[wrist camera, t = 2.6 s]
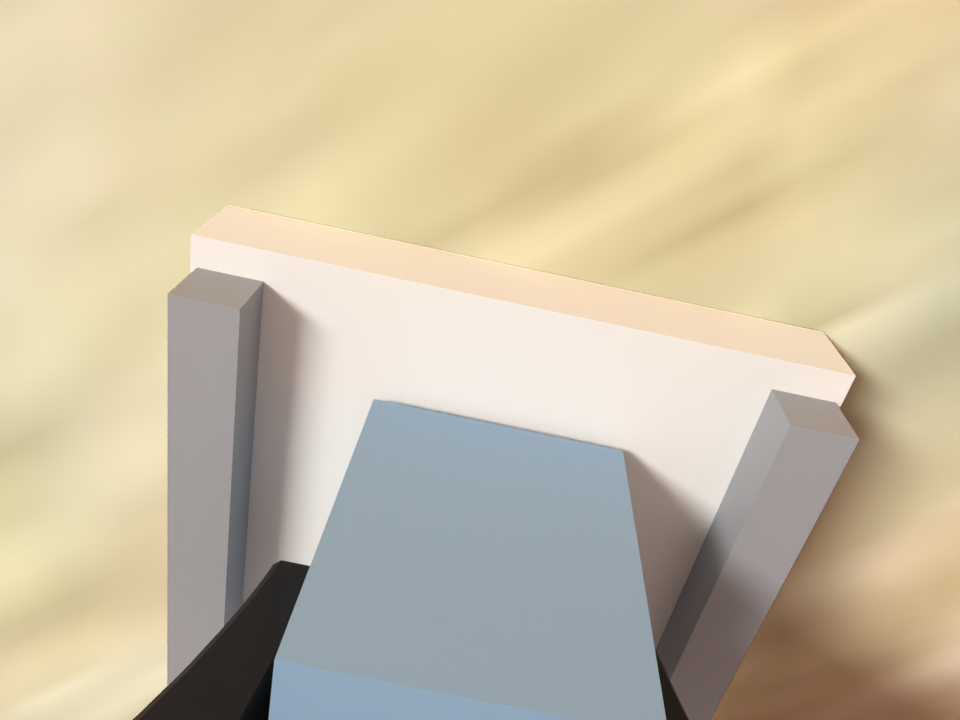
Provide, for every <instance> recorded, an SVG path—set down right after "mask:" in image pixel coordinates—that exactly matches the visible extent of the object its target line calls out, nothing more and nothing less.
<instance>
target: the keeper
mask: <svg viewBox="0 0 960 720" xmlns="http://www.w3.org/2000/svg"><path fill="white" fill-rule="evenodd" d="M268 720H666V715H665V709H664V703H663V696H662V690H661V684H660V678H659V672H658V665H657V659H656V653H655V647H654V641H653V634H652V628H651V622H650V616H649V610H648V603H647V597H646V591H645V585H644V579H643V572H642V566H641V560H640V554H639V548H638V541H637V535H636V529H635V523H634V517H633V510H632V504H631V498H630V492H629V486H628V479H627V473H626V467H625V461H624V455H623V451H622V450H617V449H612V448H607V447H602V446H598V445H593V444H588V443H583V442H578V441H574V440H569V439H564V438H559V437H554V436H550V435H545V434H540V433H535V432H530V431H525V430H521V429H516V428H511V427H506V426H501V425H497V424H492V423H487V422H482V421H477V420H473V419H468V418H463V417H458V416H453V415H449V414H444V413H439V412H434V411H429V410H424V409H420V408H415V407H410V406H405V405H400V404H396V403H391V402H386V401H381V400H376V399H374V400H373V402H372V405H371V407H370V410H369V413H368V415H367V418H366V421H365V423H364V426H363V428H362V431H361V434H360V436H359V439H358V442H357V444H356V447H355V449H354V452H353V455H352V457H351V460H350V463H349V465H348V468H347V470H346V473H345V476H344V478H343V481H342V483H341V486H340V489H339V491H338V494H337V497H336V499H335V502H334V504H333V507H332V510H331V512H330V515H329V518H328V520H327V523H326V525H325V528H324V531H323V533H322V536H321V539H320V541H319V544H318V546H317V549H316V552H315V554H314V557H313V560H312V562H311V565H310V567H309V570H308V573H307V575H306V578H305V581H304V583H303V586H302V588H301V591H300V594H299V596H298V599H297V601H296V604H295V607H294V609H293V612H292V615H291V617H290V620H289V622H288V625H287V628H286V630H285V633H284V636H283V638H282V641H281V643H280V646H279V649H278V651H277V654H276V657H275V659H274V668H273V678H272V688H271V698H270V708H269V718H268Z"/></svg>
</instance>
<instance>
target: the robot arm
mask: <svg viewBox="0 0 960 720" xmlns="http://www.w3.org/2000/svg"><path fill="white" fill-rule="evenodd" d="M309 567H310V566H308V565H303V564H298V563H293V562H288V561H283V560H281V561H279V562H277V563H275V564H273V565H272V567H271V568H270V570H269V571H268V572H267V574H266V575H265V577H264V578H263V579H262V581H261V582H260V583H259V585H258V586H257V587H256V589H255V590H254V591H253V592H252V594H251V595H250V596H249V597H248V599H247V600H246V601H245V602H244V603H243V605H242V606H241V607H240V608H239V609H238V611H237V612H236V613H235V614H234V615H233V616H232V618H231V619H230V620H229V621H228V622H227V623H226V625H225V626H224V627H223V628H222V629H221V630H220V631H219V633H218V634H217V635H216V636H215V637H214V638H213V639H212V640H211V641H210V642H209V643H208V644H207V646H206V647H205V648H204V649H203V650H202V651H201V652H200V653H199V654H198V655H197V656H196V657H195V659H194V660H193V661H192V662H191V663H190V664H189V665H188V666H187V667H186V668H185V669H184V670H183V671H182V672H181V673H180V674H179V675H178V676H177V677H176V678H175V679H174V680H173V681H172V682H171V683H170V684H169V685H168V686H167V687H166V688H165V689H164V690H163V691H162V692H161V693H160V694H159V695H158V696H157V697H156V698H155V699H154V700H153V701H152V702H151V703H150V704H149V705H148V706H147V707H146V708H145V709H144V710H143V711H141V712H140V713H139V714H138V715H137V716H136V717H135V718H134V719H133V720H268V718H269V708H270V698H271V688H272V678H273V668H274V659H275V657H276V654H277V651H278V649H279V646H280V643H281V641H282V638H283V636H284V633H285V630H286V628H287V625H288V622H289V620H290V617H291V615H292V612H293V609H294V607H295V604H296V601H297V599H298V596H299V594H300V591H301V588H302V586H303V583H304V581H305V578H306V575H307V573H308V570H309ZM654 647H655V646H654ZM655 653H656V659H657V665H658V672H659V678H660V684H661V690H662V696H663V703H664V709H665V715H666V720H689V719H688V717H687V715H686V713H685V710H684V708H683V706H682V704H681V702H680V700H679V698H678V696H677V694H676V692H675V690H674V688H673V685H672V683H671V681H670V679H669V677H668V675H667V673H666V670H665V668H664V666H663V664H662V662H661V659H660V657H659V655H658V653H657V651H656V648H655Z"/></svg>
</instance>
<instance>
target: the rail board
mask: <svg viewBox="0 0 960 720" xmlns="http://www.w3.org/2000/svg"><path fill="white" fill-rule="evenodd" d="M855 377H856V375H855V374H854V373H853V371H852V370H851V368H850V367H849V366H848V364H847V363H846V362H845V360H844V359H843V358H842V356H841V355H840V354H839V352H838V351H837V350H836V348H835V347H834V346H833V344H832V343H831V342H830V340H829V339H828V338H827V336H826V335H825V334H824V332H821V331H817V330H812V329H807V328H803V327H798V326H793V325H789V324H784V323H779V322H775V321H770V320H765V319H761V318H756V317H751V316H747V315H742V314H737V313H733V312H728V311H723V310H719V309H714V308H709V307H705V306H700V305H695V304H691V303H686V302H681V301H677V300H672V299H667V298H663V297H658V296H653V295H649V294H644V293H639V292H635V291H630V290H625V289H621V288H616V287H611V286H607V285H602V284H597V283H593V282H588V281H583V280H579V279H574V278H569V277H565V276H560V275H555V274H551V273H546V272H541V271H537V270H532V269H527V268H523V267H518V266H513V265H508V264H504V263H499V262H494V261H490V260H485V259H480V258H476V257H471V256H466V255H462V254H457V253H452V252H448V251H443V250H438V249H434V248H429V247H424V246H420V245H415V244H410V243H406V242H401V241H396V240H392V239H387V238H382V237H378V236H373V235H368V234H364V233H359V232H354V231H350V230H345V229H340V228H336V227H331V226H326V225H322V224H317V223H312V222H308V221H303V220H298V219H294V218H289V217H284V216H280V215H275V214H270V213H266V212H261V211H256V210H252V209H247V208H242V207H238V206H233V205H227V206H226V207H225V208H224V209H222V210H221V211H220V212H219V213H217V214H216V215H215V216H213V217H212V218H211V219H210V220H208V221H207V222H206V223H205V224H203V225H202V226H201V227H200V228H198V229H197V230H196V231H195V232H193V233H192V234H191V260H190V274H189V275H188V276H187V277H186V278H185V279H184V280H183V281H182V282H180V283H179V284H178V285H177V286H176V287H175V288H174V289H173V290H172V291H170V292H169V293H168V685H169V684H170V683H171V682H172V681H173V680H174V679H175V678H176V677H177V676H178V675H179V674H180V673H181V672H182V671H183V670H184V669H185V668H186V667H187V666H188V665H189V664H190V663H191V662H192V661H193V660H194V659H195V657H196V656H197V655H198V654H199V653H200V652H201V651H202V650H203V649H204V648H205V647H206V646H207V644H208V643H209V642H210V641H211V640H212V639H213V638H214V637H215V636H216V635H217V634H218V633H219V631H220V630H221V629H222V628H223V627H224V626H225V625H226V623H227V622H228V621H229V620H230V619H231V618H232V616H233V615H234V614H235V613H236V612H237V611H238V609H239V608H240V607H241V606H242V605H243V603H244V602H245V601H246V600H247V599H248V597H249V596H250V595H251V594H252V592H253V591H254V590H255V589H256V587H257V586H258V585H259V583H260V582H261V581H262V579H263V578H264V577H265V575H266V574H267V572H268V571H269V570H270V568H271V567H272V565H273V564H275V563H277V562H279V561H281V560H283V561H288V562H293V563H298V564H303V565H308V566H310V565H311V562H312V560H313V557H314V554H315V552H316V549H317V546H318V544H319V541H320V539H321V536H322V533H323V531H324V528H325V525H326V523H327V520H328V518H329V515H330V512H331V510H332V507H333V504H334V502H335V499H336V497H337V494H338V491H339V489H340V486H341V483H342V481H343V478H344V476H345V473H346V470H347V468H348V465H349V463H350V460H351V457H352V455H353V452H354V449H355V447H356V444H357V442H358V439H359V436H360V434H361V431H362V428H363V426H364V423H365V421H366V418H367V415H368V413H369V410H370V407H371V405H372V402H373V400H374V399H376V400H381V401H386V402H391V403H396V404H400V405H405V406H410V407H415V408H420V409H424V410H429V411H434V412H439V413H444V414H449V415H453V416H458V417H463V418H468V419H473V420H477V421H482V422H487V423H492V424H497V425H501V426H506V427H511V428H516V429H521V430H525V431H530V432H535V433H540V434H545V435H550V436H554V437H559V438H564V439H569V440H574V441H578V442H583V443H588V444H593V445H598V446H602V447H607V448H612V449H617V450H622V451H623V455H624V461H625V467H626V473H627V479H628V486H629V492H630V498H631V504H632V510H633V517H634V523H635V529H636V535H637V541H638V548H639V554H640V560H641V566H642V572H643V579H644V585H645V591H646V597H647V603H648V610H649V616H650V622H651V628H652V634H653V641H654V646H655V648H656V651H657V653H658V655H659V657H660V659H661V662H662V664H663V666H664V668H665V670H666V673H667V675H668V677H669V679H670V681H671V683H672V685H673V688H674V690H675V692H676V694H677V696H678V698H679V700H680V702H681V704H682V706H683V708H684V710H685V713H686V715H687V717H688V719H689V720H711V718H712V717H713V715H714V713H715V711H716V709H717V707H718V705H719V703H720V701H721V700H722V698H723V696H724V694H725V692H726V690H727V688H728V686H729V685H730V683H731V681H732V679H733V677H734V675H735V673H736V671H737V669H738V668H739V666H740V664H741V662H742V660H743V658H744V656H745V654H746V653H747V651H748V649H749V647H750V645H751V643H752V641H753V639H754V637H755V636H756V634H757V632H758V630H759V628H760V626H761V624H762V622H763V621H764V619H765V617H766V615H767V613H768V611H769V609H770V607H771V605H772V604H773V602H774V600H775V598H776V596H777V594H778V592H779V590H780V588H781V587H782V585H783V583H784V581H785V579H786V577H787V575H788V573H789V572H790V570H791V568H792V566H793V564H794V562H795V560H796V558H797V556H798V555H799V553H800V551H801V549H802V547H803V545H804V543H805V541H806V540H807V538H808V536H809V534H810V532H811V530H812V528H813V526H814V524H815V523H816V521H817V519H818V517H819V515H820V513H821V511H822V509H823V508H824V506H825V504H826V502H827V500H828V498H829V496H830V494H831V492H832V491H833V489H834V487H835V485H836V483H837V481H838V479H839V477H840V475H841V474H842V472H843V470H844V468H845V466H846V464H847V462H848V460H849V459H850V457H851V455H852V453H853V451H854V449H855V447H856V445H857V443H858V442H859V440H860V439H859V438H858V436H857V435H856V433H855V431H854V430H853V428H852V427H851V425H850V424H849V422H848V421H847V419H846V418H845V416H844V415H843V413H842V412H841V410H840V407H841V405H842V403H843V401H844V399H845V397H846V395H847V393H848V391H849V389H850V387H851V385H852V383H853V381H854V379H855Z"/></svg>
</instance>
